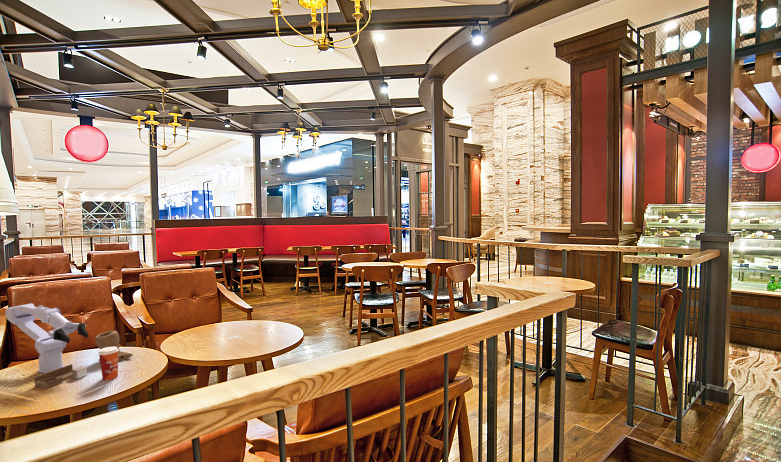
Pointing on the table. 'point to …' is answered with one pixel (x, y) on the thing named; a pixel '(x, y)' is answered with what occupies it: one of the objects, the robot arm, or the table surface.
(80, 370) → the steel cube
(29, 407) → the table surface
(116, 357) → the paper cup
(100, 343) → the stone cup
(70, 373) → the walnut cabinet
